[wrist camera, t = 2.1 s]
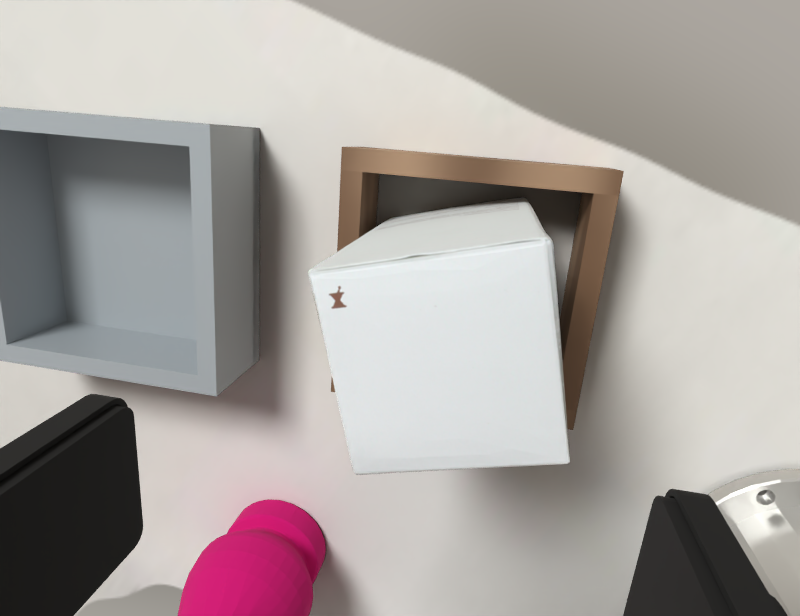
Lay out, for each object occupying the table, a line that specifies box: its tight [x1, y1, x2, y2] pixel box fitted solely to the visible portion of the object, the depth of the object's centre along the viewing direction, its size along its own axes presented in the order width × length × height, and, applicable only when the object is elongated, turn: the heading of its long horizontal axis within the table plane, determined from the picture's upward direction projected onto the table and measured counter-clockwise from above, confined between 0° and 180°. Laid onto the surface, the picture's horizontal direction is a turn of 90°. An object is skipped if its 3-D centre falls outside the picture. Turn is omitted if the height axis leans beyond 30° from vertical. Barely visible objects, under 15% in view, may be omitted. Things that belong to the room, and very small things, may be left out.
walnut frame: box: [331, 147, 624, 430], centre depth 27 cm, size 12×12×4 cm
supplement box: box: [308, 197, 570, 475], centre depth 22 cm, size 7×7×13 cm
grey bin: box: [0, 107, 260, 396], centre depth 29 cm, size 13×13×5 cm
